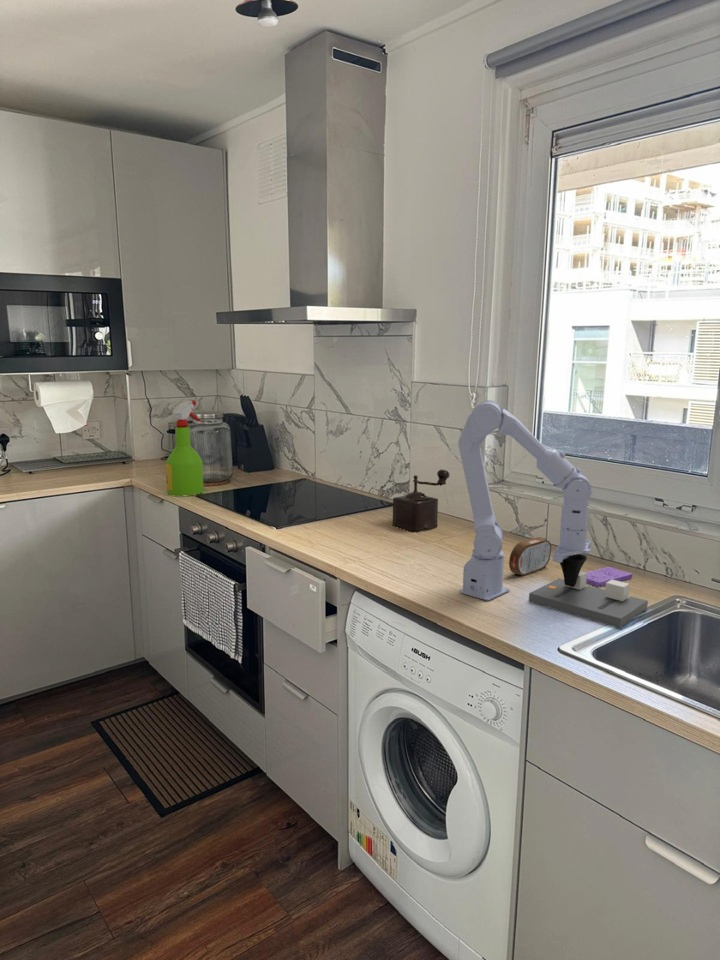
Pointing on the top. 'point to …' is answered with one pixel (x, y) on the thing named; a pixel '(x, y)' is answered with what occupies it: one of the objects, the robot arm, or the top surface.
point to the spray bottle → (184, 457)
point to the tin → (530, 556)
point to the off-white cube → (580, 581)
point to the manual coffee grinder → (417, 507)
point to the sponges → (606, 576)
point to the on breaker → (617, 590)
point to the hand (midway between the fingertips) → (570, 585)
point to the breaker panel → (588, 603)
